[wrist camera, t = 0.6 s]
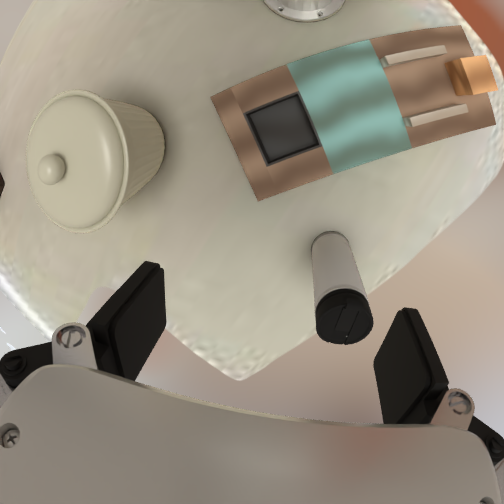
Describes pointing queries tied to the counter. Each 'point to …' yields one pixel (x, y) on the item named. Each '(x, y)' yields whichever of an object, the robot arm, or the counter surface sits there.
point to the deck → (349, 108)
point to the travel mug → (338, 292)
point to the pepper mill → (1, 184)
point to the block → (471, 75)
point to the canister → (90, 158)
